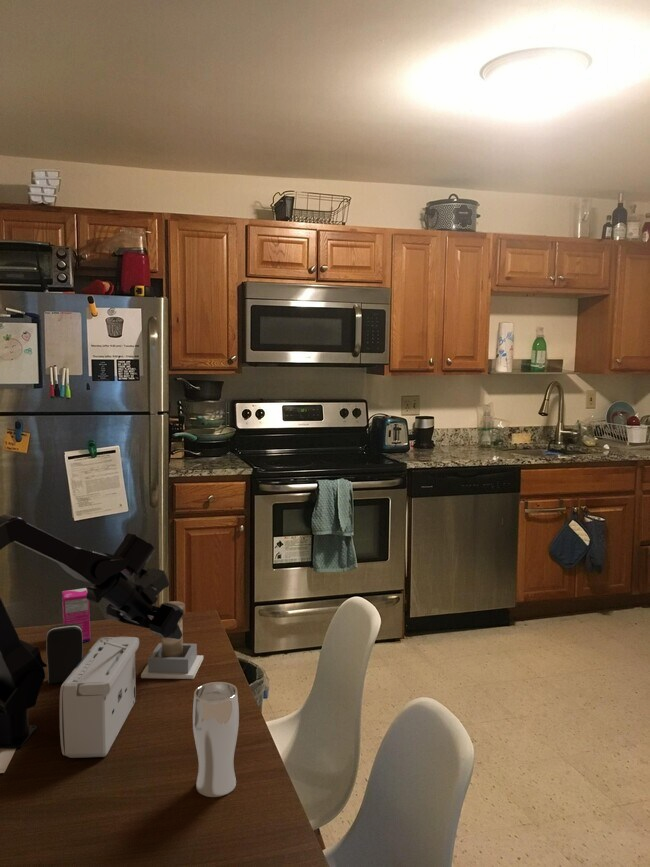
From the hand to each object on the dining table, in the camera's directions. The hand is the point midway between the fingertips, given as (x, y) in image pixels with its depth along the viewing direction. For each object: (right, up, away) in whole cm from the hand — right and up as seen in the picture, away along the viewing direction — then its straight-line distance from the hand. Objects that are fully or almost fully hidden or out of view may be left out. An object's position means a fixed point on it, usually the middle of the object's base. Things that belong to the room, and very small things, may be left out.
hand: (166, 631), depth 142 cm
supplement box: (-26, -7, +18) cm, 32 cm away
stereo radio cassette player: (-6, -11, -23) cm, 26 cm away
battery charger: (-20, -9, -3) cm, 22 cm away
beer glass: (+17, -12, -39) cm, 44 cm away
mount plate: (+1, -8, +2) cm, 9 cm away
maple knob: (+1, -8, +2) cm, 8 cm away
